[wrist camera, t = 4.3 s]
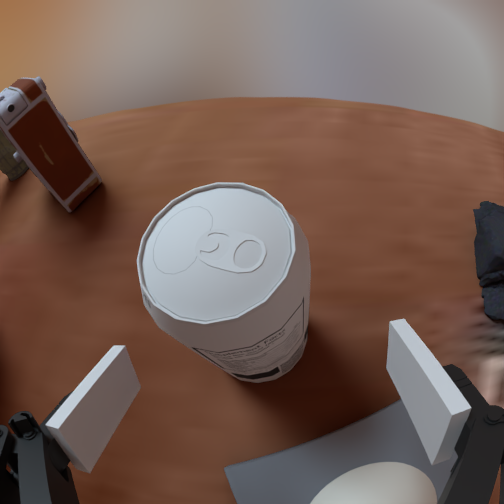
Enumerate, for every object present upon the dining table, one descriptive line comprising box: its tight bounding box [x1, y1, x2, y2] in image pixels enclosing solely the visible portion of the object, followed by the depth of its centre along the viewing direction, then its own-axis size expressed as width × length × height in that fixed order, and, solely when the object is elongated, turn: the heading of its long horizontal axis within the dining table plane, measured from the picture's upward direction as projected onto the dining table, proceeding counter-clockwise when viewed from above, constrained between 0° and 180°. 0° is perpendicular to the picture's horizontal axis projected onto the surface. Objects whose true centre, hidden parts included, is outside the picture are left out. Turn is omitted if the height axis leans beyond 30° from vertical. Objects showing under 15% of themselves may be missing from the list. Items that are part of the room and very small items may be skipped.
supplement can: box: [137, 183, 311, 383], centre depth 19 cm, size 8×8×15 cm
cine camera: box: [0, 76, 102, 212], centre depth 34 cm, size 9×19×20 cm, turn 51°
